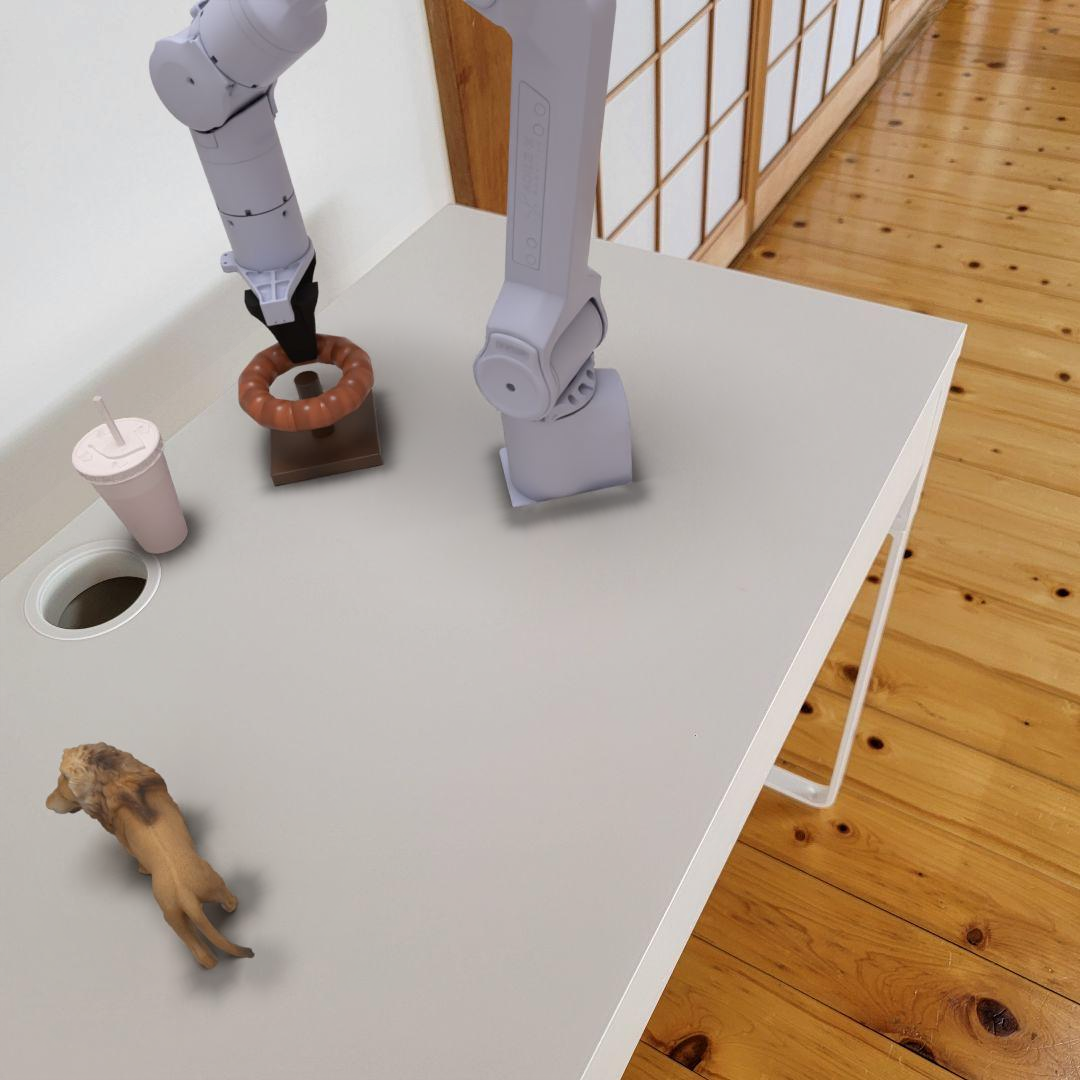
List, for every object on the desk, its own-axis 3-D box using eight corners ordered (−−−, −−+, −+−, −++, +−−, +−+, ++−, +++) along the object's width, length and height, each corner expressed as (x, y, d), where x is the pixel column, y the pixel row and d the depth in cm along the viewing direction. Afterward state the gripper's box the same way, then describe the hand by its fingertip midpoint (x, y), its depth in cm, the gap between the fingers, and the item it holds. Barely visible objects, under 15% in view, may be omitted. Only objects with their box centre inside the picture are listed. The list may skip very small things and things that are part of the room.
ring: (368, 341, 85) (363, 318, 83) (382, 422, 78) (376, 398, 76) (242, 365, 84) (233, 342, 82) (244, 449, 77) (235, 426, 75)
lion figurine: (85, 847, 61) (14, 773, 54) (157, 785, 63) (98, 706, 57) (232, 1005, 54) (171, 941, 47) (306, 927, 56) (259, 856, 50)
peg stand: (374, 398, 88) (357, 335, 83) (383, 464, 82) (365, 401, 77) (273, 417, 88) (250, 356, 83) (274, 486, 82) (249, 424, 77)
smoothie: (183, 570, 76) (109, 431, 66) (108, 562, 77) (24, 425, 67) (217, 510, 80) (152, 371, 70) (146, 504, 81) (72, 366, 71)
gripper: (204, 161, 78) (256, 309, 88) (196, 257, 68) (256, 411, 78) (294, 145, 78) (335, 294, 88) (299, 238, 68) (345, 394, 78)
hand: (304, 348), depth 83 cm, fingers closed on ring, 2 cm apart
